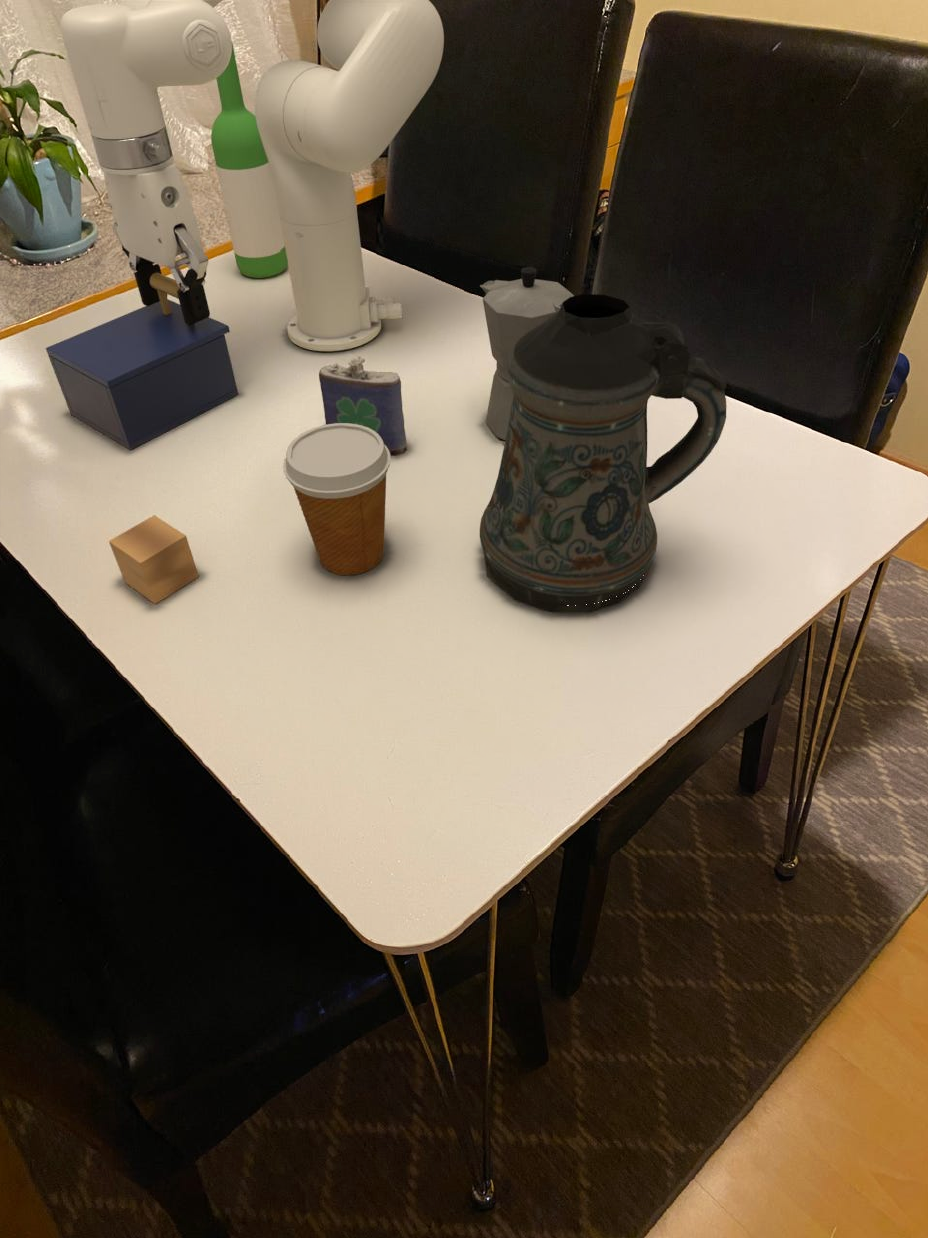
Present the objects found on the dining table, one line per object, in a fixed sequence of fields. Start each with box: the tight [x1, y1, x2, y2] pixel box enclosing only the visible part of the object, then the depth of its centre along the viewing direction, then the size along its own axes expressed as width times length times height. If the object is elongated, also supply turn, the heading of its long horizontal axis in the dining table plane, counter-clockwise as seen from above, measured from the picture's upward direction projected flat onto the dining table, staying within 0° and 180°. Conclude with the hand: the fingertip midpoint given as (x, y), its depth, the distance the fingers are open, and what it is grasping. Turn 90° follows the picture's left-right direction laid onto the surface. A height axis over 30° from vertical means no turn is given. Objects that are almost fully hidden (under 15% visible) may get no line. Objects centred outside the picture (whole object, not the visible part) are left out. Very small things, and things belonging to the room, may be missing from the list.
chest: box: [47, 334, 239, 451], centre depth 106 cm, size 16×13×8 cm
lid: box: [45, 273, 231, 388], centre depth 102 cm, size 16×13×6 cm
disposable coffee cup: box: [282, 423, 392, 576], centre depth 83 cm, size 10×10×12 cm
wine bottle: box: [210, 42, 288, 279], centre depth 127 cm, size 8×8×30 cm
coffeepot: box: [479, 266, 575, 441], centre depth 96 cm, size 15×9×18 cm, turn 46°
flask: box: [318, 355, 407, 456], centre depth 97 cm, size 9×3×11 cm, turn 74°
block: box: [108, 514, 200, 605], centre depth 84 cm, size 5×5×5 cm
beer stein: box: [479, 293, 728, 613], centre depth 77 cm, size 16×19×25 cm
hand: (176, 309), depth 106 cm, fingers open, 7 cm apart
